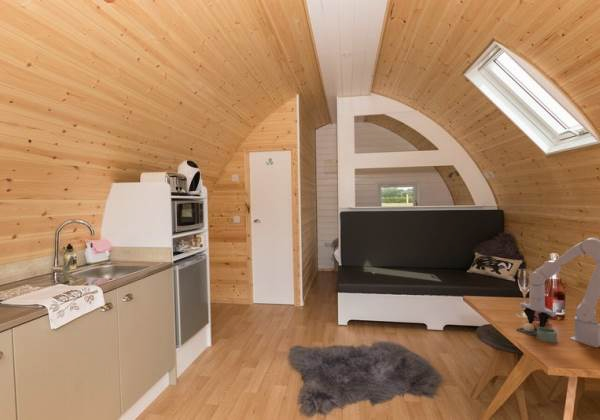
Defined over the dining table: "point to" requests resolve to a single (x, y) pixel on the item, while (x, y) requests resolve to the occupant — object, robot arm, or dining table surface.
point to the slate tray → (528, 332)
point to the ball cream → (528, 327)
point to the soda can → (540, 312)
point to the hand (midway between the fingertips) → (536, 326)
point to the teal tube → (546, 334)
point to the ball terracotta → (536, 324)
